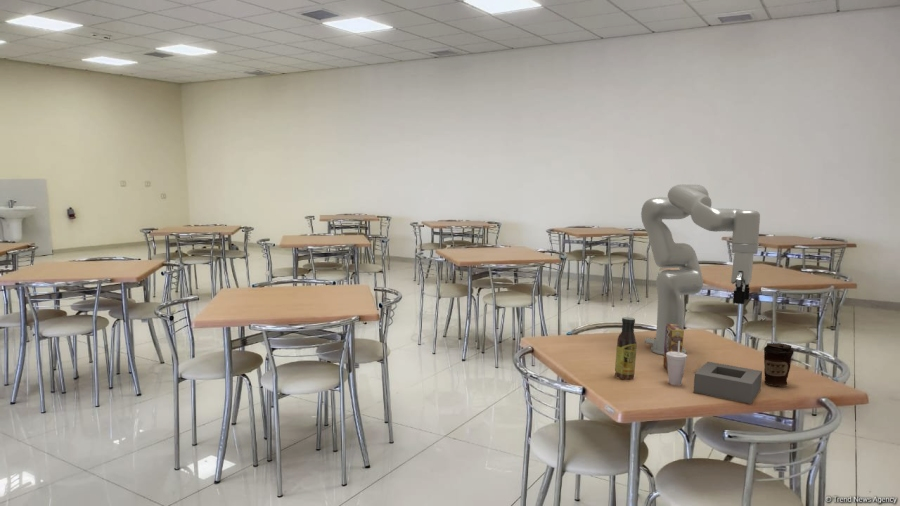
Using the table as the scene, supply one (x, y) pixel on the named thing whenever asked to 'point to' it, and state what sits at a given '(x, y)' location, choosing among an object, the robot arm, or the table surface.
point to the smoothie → (676, 366)
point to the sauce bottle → (626, 350)
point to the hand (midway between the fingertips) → (741, 301)
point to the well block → (728, 382)
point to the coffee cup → (777, 363)
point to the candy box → (672, 341)
